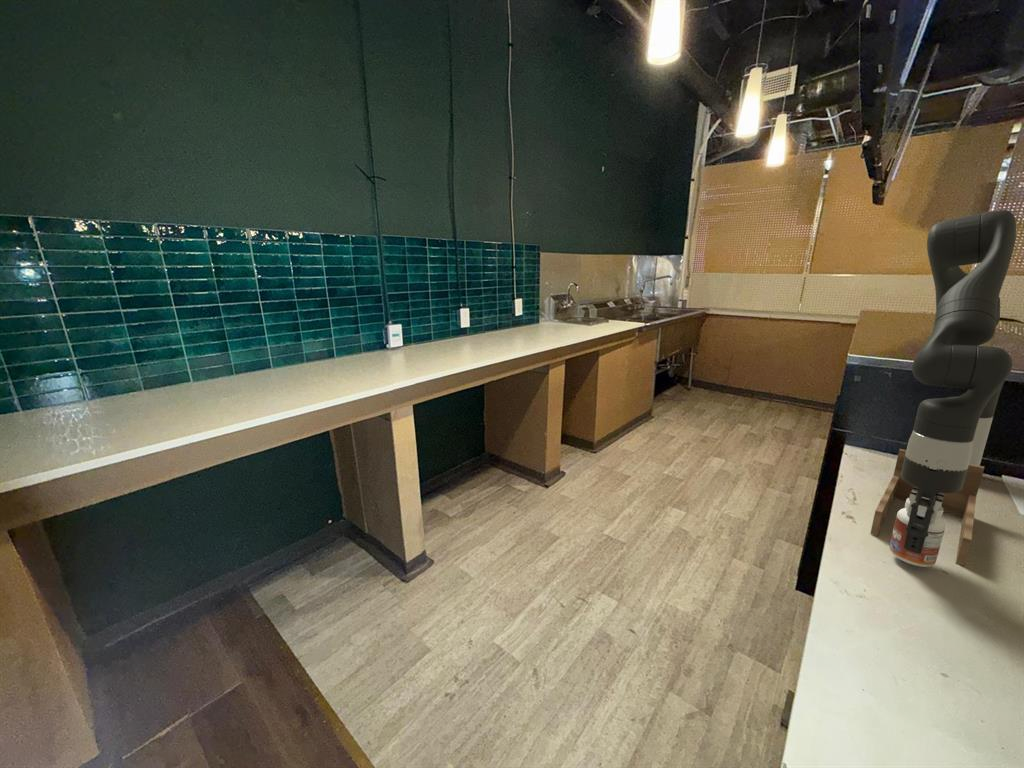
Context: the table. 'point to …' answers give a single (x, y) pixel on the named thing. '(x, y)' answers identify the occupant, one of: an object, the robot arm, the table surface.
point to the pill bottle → (930, 543)
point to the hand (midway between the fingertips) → (915, 542)
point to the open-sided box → (951, 503)
